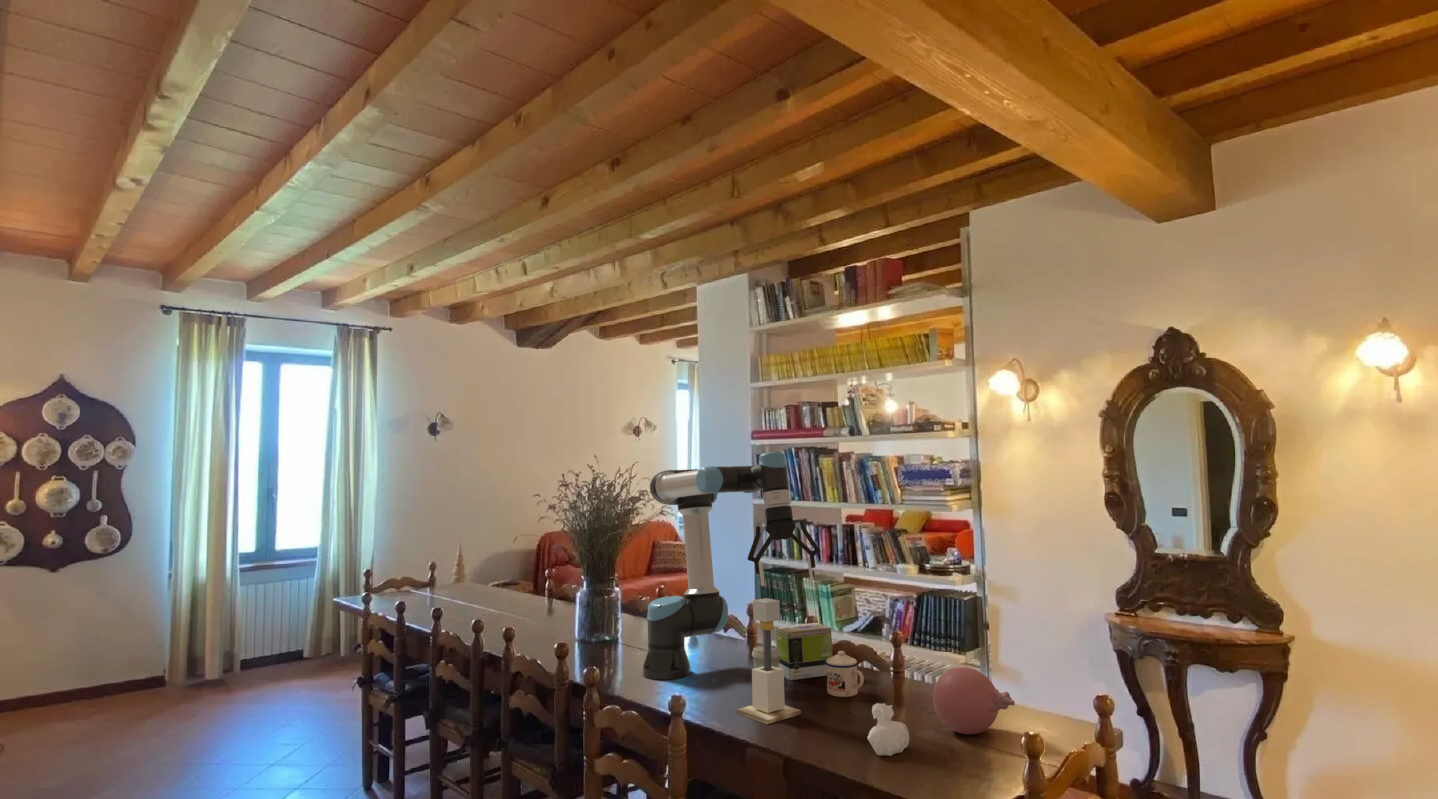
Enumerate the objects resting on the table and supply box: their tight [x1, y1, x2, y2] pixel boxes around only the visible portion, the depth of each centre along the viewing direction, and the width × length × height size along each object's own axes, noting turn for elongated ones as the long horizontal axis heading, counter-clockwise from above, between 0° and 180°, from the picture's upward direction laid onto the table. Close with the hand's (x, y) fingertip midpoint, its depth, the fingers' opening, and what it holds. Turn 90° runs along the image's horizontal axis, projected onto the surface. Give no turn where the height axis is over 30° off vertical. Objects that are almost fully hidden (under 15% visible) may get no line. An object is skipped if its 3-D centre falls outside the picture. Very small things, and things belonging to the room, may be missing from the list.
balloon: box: [932, 666, 1015, 736], centre depth 190 cm, size 15×20×15 cm
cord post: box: [752, 597, 781, 671], centre depth 209 cm, size 5×5×28 cm
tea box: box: [775, 622, 834, 681], centre depth 246 cm, size 15×10×15 cm, turn 108°
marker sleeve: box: [751, 666, 786, 713], centre depth 208 cm, size 6×6×10 cm
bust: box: [867, 702, 910, 757], centre depth 181 cm, size 12×8×11 cm
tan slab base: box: [736, 704, 802, 725], centre depth 208 cm, size 12×12×1 cm
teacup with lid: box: [826, 650, 865, 698], centre depth 224 cm, size 12×9×12 cm
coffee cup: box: [751, 645, 781, 669], centre depth 230 cm, size 8×9×12 cm
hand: (787, 583), depth 217 cm, fingers open, 13 cm apart
